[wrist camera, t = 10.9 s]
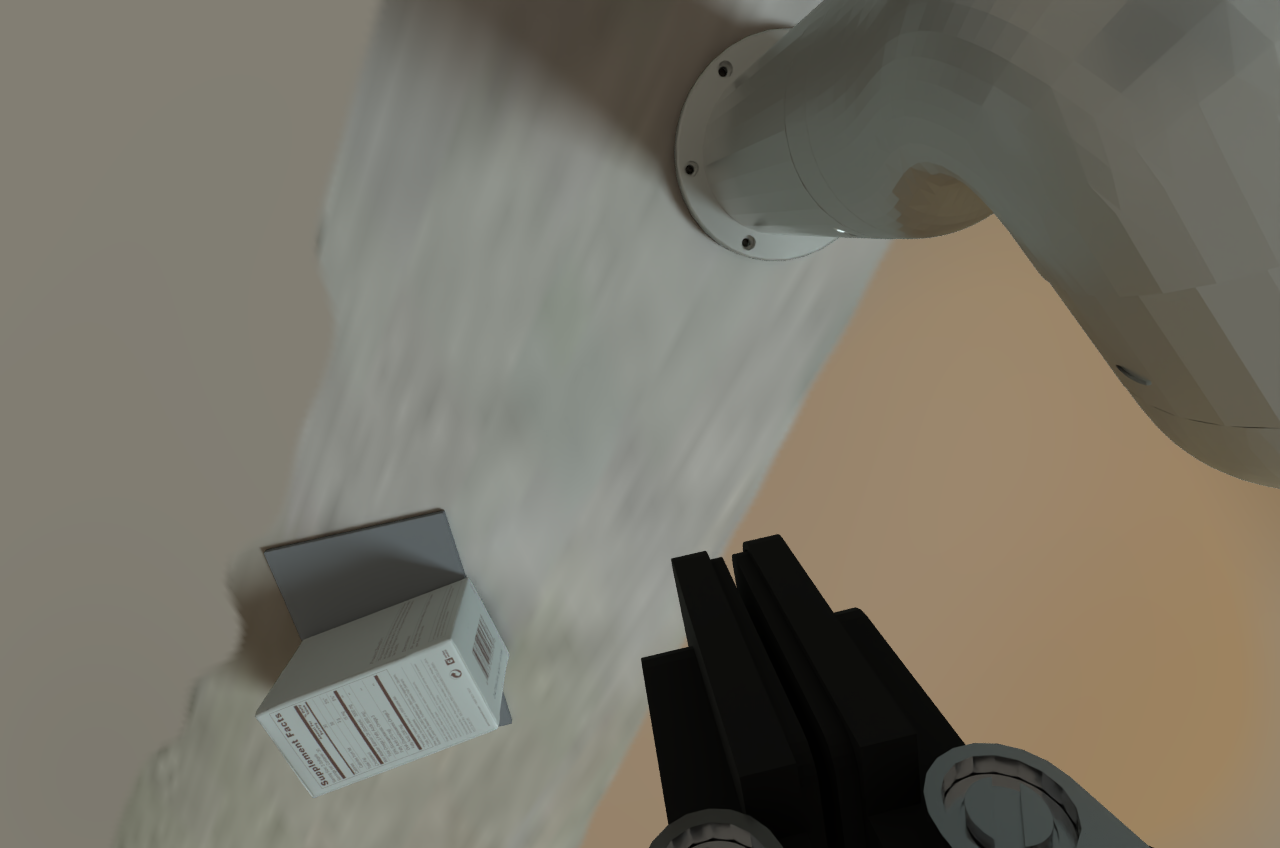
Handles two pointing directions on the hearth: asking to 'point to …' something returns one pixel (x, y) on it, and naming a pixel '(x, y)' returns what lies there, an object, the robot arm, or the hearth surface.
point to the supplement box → (388, 689)
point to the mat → (366, 573)
